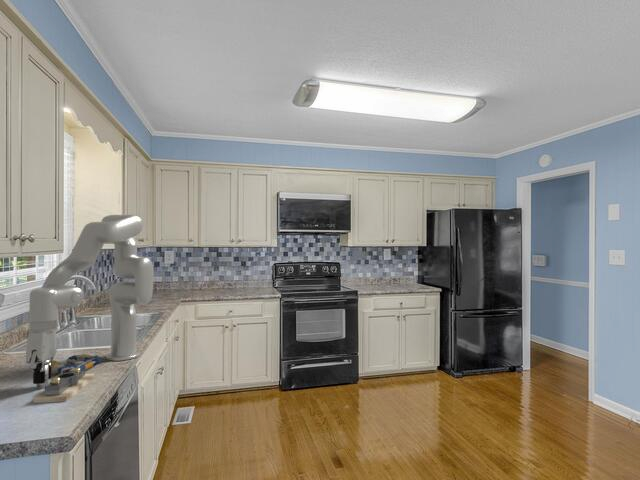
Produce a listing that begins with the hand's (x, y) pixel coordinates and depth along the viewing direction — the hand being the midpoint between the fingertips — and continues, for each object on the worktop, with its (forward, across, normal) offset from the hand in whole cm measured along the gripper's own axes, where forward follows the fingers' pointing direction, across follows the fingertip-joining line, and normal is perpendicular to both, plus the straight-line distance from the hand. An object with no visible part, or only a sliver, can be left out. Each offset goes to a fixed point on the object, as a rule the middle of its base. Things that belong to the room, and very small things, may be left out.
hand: (42, 380), depth 123 cm
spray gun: (+3, -19, +1) cm, 19 cm away
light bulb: (+2, 0, 0) cm, 2 cm away
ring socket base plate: (+2, +3, +8) cm, 9 cm away
